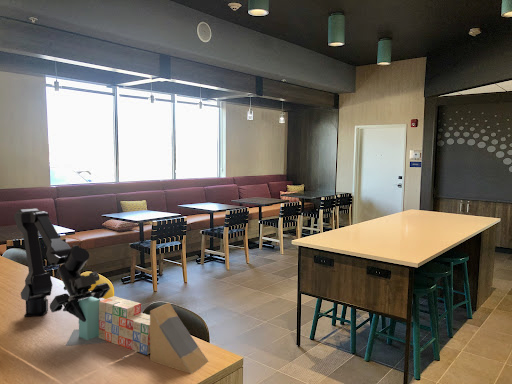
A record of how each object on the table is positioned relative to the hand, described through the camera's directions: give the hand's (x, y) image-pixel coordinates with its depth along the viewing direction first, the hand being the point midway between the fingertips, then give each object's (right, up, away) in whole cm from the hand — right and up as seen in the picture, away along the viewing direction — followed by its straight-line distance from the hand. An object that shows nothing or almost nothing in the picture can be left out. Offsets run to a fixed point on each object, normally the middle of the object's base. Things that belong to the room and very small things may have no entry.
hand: (92, 318), depth 128 cm
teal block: (-1, -6, +1) cm, 6 cm away
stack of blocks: (+13, -7, -3) cm, 15 cm away
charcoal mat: (-1, -7, +1) cm, 7 cm away
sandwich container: (+31, -9, -13) cm, 34 cm away
